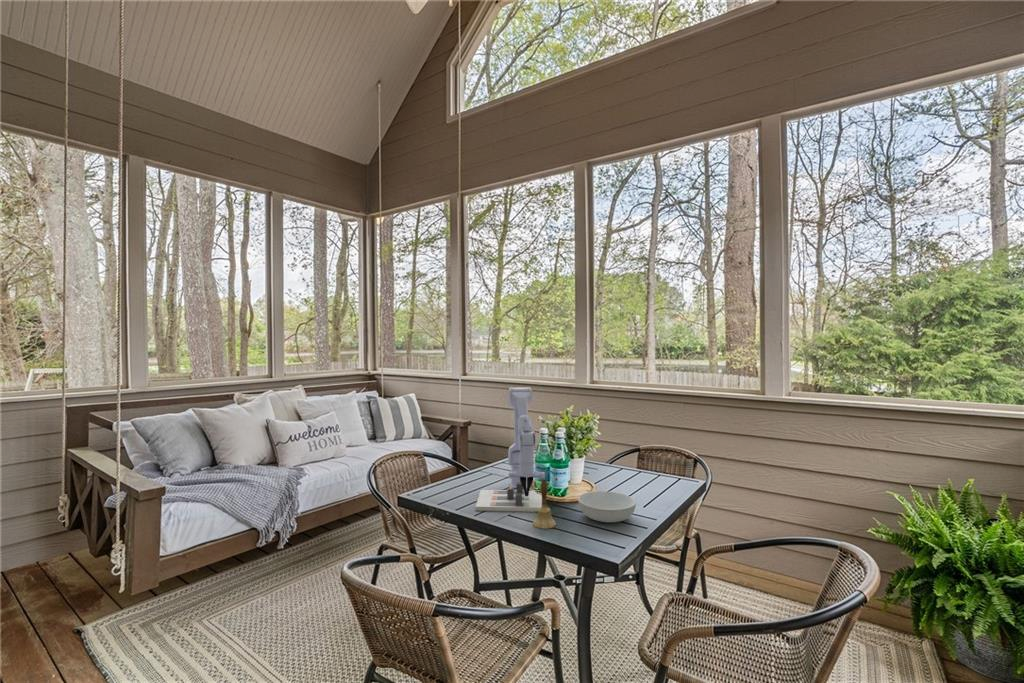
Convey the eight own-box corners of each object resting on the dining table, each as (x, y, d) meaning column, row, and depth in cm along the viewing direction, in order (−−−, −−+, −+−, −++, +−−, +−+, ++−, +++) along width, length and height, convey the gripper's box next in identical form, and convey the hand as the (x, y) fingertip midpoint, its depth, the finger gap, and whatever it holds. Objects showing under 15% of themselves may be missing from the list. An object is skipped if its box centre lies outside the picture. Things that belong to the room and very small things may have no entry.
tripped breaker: (507, 495, 193) (507, 486, 193) (513, 495, 193) (513, 486, 193) (507, 498, 190) (507, 489, 190) (513, 498, 190) (513, 489, 190)
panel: (481, 493, 202) (481, 480, 202) (542, 494, 201) (542, 481, 201) (475, 510, 182) (475, 496, 182) (543, 511, 181) (543, 497, 181)
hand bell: (527, 524, 169) (527, 479, 169) (543, 518, 175) (543, 474, 175) (545, 531, 163) (545, 484, 163) (560, 524, 169) (560, 479, 169)
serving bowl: (646, 518, 175) (646, 499, 175) (614, 534, 160) (614, 514, 160) (599, 503, 190) (599, 486, 190) (566, 517, 175) (566, 499, 175)
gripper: (508, 464, 187) (508, 498, 187) (545, 464, 187) (545, 499, 187) (509, 459, 194) (509, 492, 194) (544, 460, 194) (544, 493, 194)
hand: (526, 495), depth 191 cm, fingers closed
